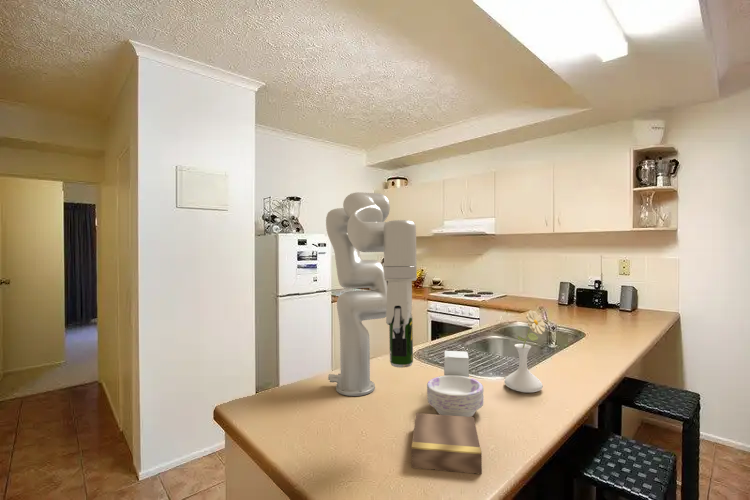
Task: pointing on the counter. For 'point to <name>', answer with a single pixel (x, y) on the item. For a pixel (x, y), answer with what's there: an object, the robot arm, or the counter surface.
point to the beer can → (408, 360)
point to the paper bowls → (455, 395)
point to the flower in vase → (522, 376)
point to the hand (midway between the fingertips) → (401, 351)
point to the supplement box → (456, 363)
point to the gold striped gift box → (446, 443)
